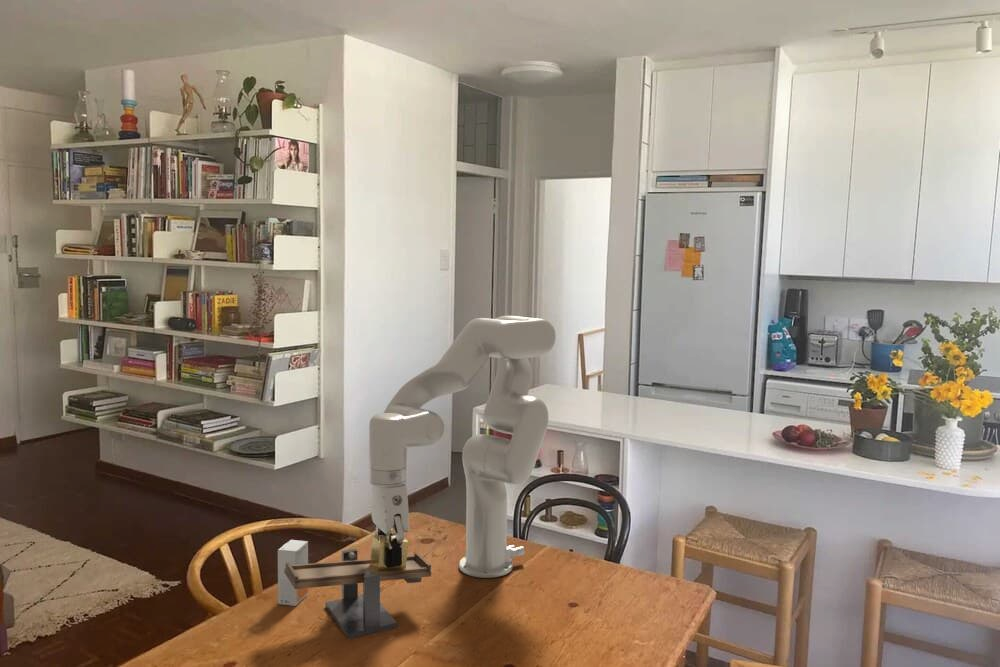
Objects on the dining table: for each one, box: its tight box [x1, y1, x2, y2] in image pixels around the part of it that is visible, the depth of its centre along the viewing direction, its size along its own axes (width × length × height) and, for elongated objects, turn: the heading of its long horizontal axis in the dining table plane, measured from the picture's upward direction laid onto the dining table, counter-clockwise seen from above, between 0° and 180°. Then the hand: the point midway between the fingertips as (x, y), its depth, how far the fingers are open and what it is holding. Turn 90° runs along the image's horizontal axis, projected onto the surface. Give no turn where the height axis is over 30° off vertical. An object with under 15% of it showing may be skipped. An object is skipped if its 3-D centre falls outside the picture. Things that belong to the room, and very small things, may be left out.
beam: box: [284, 552, 432, 589], centre depth 157 cm, size 28×11×4 cm, turn 119°
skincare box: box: [277, 539, 309, 607], centre depth 165 cm, size 6×4×12 cm
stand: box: [325, 548, 398, 640], centre depth 158 cm, size 10×15×12 cm, turn 29°
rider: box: [370, 535, 409, 571], centre depth 160 cm, size 6×5×6 cm
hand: (388, 560), depth 160 cm, fingers open, 5 cm apart
